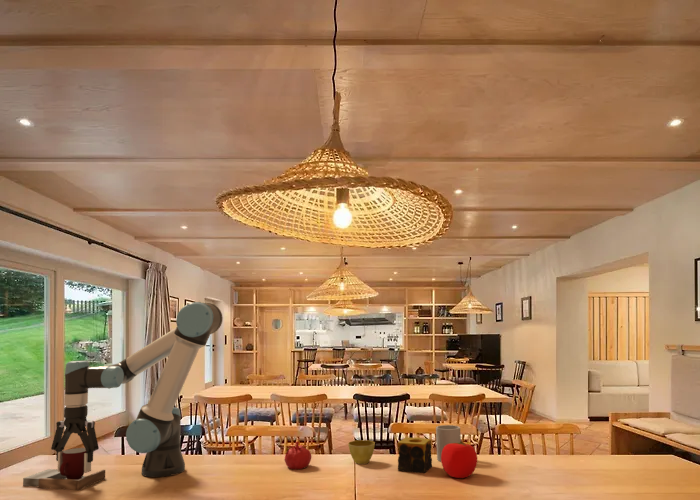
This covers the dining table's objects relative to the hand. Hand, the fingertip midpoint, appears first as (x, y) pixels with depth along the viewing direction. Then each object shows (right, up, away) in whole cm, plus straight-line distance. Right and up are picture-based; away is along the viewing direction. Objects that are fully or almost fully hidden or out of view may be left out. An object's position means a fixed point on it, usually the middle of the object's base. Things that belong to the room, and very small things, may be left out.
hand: (74, 471), depth 206 cm
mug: (-1, -4, 0) cm, 4 cm away
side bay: (-4, -4, 0) cm, 5 cm away
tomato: (+133, -1, -3) cm, 133 cm away
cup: (+133, -3, +19) cm, 135 cm away
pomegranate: (+77, -4, +14) cm, 78 cm away
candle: (+119, -2, +7) cm, 119 cm away
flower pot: (+100, -4, +18) cm, 102 cm away
